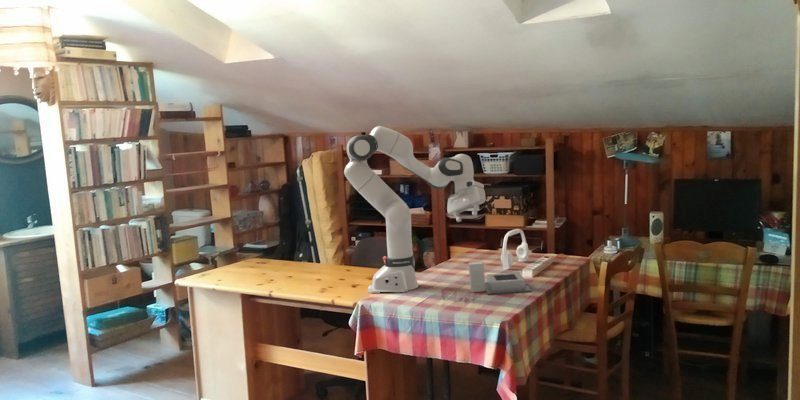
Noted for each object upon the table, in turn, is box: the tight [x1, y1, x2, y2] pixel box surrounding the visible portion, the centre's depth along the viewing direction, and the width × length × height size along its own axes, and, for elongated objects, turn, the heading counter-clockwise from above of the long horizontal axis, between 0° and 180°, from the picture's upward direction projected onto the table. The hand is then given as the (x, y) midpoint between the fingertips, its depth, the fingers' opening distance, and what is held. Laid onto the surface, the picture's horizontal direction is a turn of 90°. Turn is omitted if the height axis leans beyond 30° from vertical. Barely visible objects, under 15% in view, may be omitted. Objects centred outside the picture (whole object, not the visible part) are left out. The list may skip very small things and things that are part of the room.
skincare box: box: [468, 261, 486, 293], centre depth 274 cm, size 6×4×12 cm
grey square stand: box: [485, 271, 532, 296], centre depth 275 cm, size 18×18×5 cm
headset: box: [500, 228, 530, 271], centre depth 312 cm, size 20×7×18 cm, turn 140°
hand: (466, 218), depth 281 cm, fingers open, 8 cm apart
